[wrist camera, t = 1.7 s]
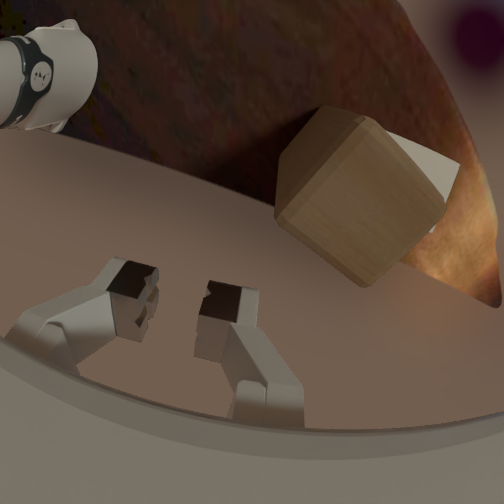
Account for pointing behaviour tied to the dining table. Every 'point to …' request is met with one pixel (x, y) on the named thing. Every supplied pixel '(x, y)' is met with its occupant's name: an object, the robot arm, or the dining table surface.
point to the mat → (431, 165)
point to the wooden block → (354, 194)
